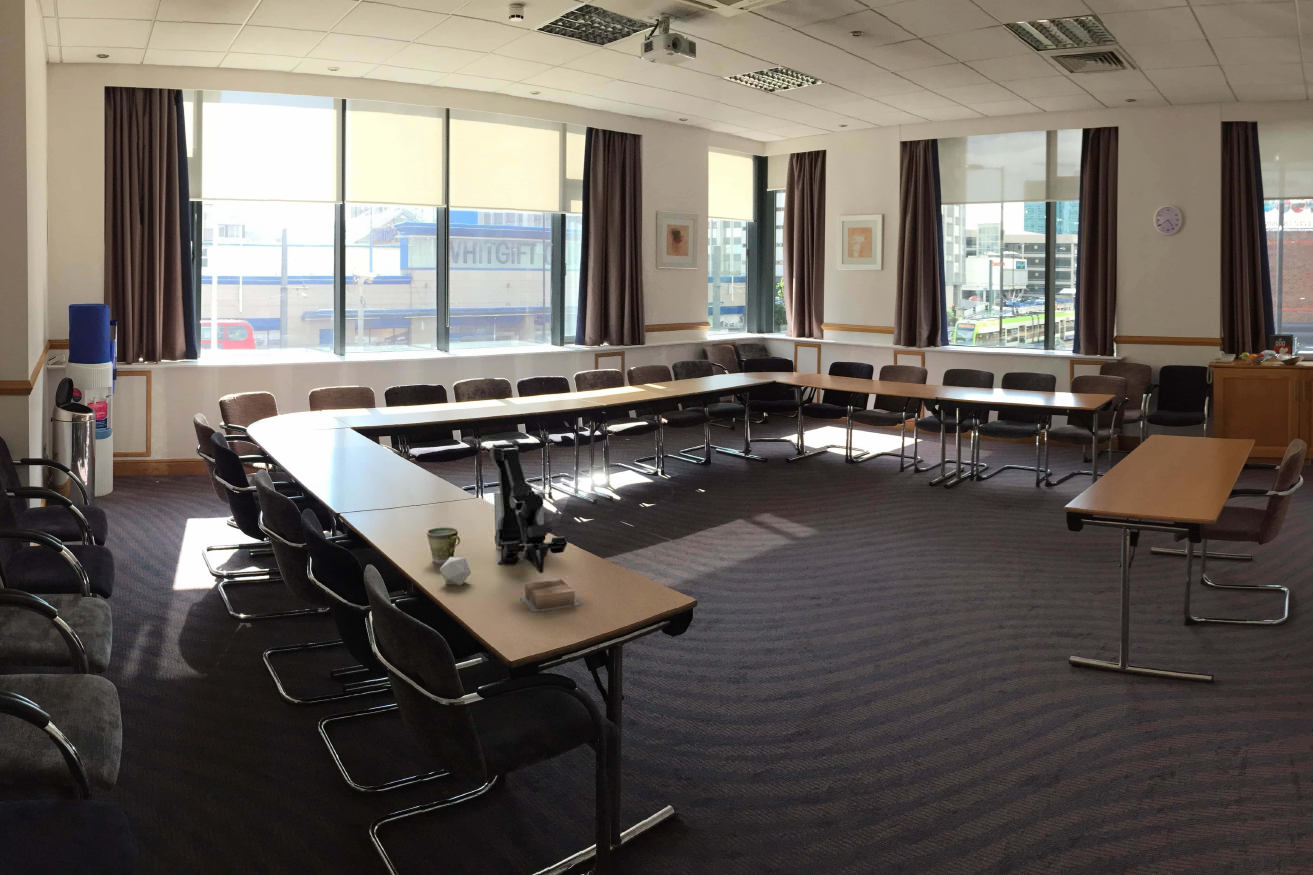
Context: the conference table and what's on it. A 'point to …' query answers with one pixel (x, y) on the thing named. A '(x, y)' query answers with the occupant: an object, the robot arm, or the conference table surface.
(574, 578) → the conference table surface
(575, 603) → the felt mat
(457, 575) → the die
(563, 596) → the walnut slab
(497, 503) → the hard drive box
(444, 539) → the ceramic cup
